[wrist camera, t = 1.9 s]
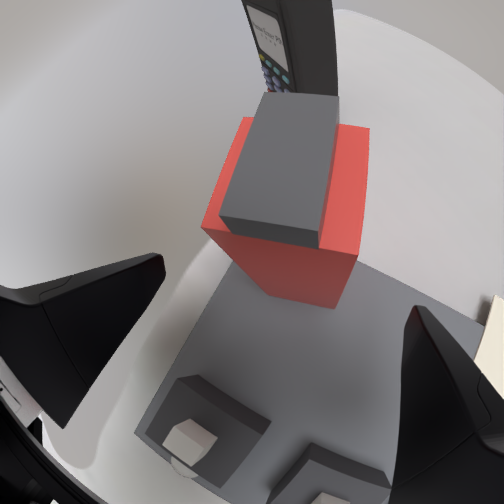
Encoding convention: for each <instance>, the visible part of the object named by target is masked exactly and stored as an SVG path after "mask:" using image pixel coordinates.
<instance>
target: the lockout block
mask: <svg viewBox="0 0 504 504" xmlns="http://www.w3.org/2000/svg"><path fill="white" fill-rule="evenodd" d="M369 130H370V128H364V127H358V126H351V125H344V124H339V97H338V96H329V95H318V94H304V93H283V92H264V95H263V97H262V99H261V102H260V104H259V107H258V109H257V112H256V114H255V117H254V118H253V117H243V119H242V122H241V124H240V126H239V129H238V131H237V133H236V136H235V138H234V141H233V143H232V146H231V148H230V150H229V153H228V155H227V158H226V161H225V163H224V166H223V168H222V171H221V173H220V176H219V179H218V181H217V184H216V186H215V189H214V192H213V194H212V197H211V200H210V202H209V206H208V208H207V211H206V214H205V216H204V219H203V222H202V225H201V228H202V229H203V230H204V231H205V232H206V233H207V234H208V235H209V236H210V237H211V238H212V239H213V240H214V241H215V242H216V243H217V244H218V245H219V246H220V247H221V248H222V249H223V250H224V251H225V252H226V253H227V254H228V255H229V256H230V257H231V258H232V259H233V261H234V262H235V263H236V264H237V265H238V266H239V267H240V268H241V269H242V270H243V271H244V272H245V273H246V274H247V275H248V276H249V277H250V278H251V279H252V280H253V281H254V282H255V283H256V284H257V285H258V286H259V287H260V288H261V289H262V290H263V291H264V292H265V293H266V294H267V295H270V296H274V297H279V298H283V299H288V300H292V301H297V302H301V303H306V304H311V305H315V306H320V307H325V308H330V309H335V308H336V306H337V304H338V302H339V299H340V297H341V295H342V293H343V290H344V288H345V286H346V284H347V281H348V279H349V277H350V274H351V272H352V270H353V267H354V265H355V262H356V260H357V258H358V255H359V248H360V241H361V234H362V226H363V218H364V209H365V199H366V188H367V175H368V158H369Z"/></svg>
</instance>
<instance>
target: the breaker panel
mask: <svg viewBox="0 0 504 504" xmlns="http://www.w3.org/2000/svg"><path fill="white" fill-rule="evenodd" d="M414 305H422V306H426V307H427V308H428V309H429V311H430V312H431V313H432V314H433V315H434V316H435V317H436V318H437V319H438V320H439V321H440V323H441V324H442V325H443V326H444V327H445V328H446V329H447V330H448V332H449V333H450V334H451V335H452V336H453V337H454V338H455V340H456V341H457V342H458V343H459V344H460V345H461V347H462V348H463V349H464V350H465V351H466V353H467V354H468V355H469V356H470V357H471V359H472V360H473V361H474V362H475V364H476V365H477V366H478V367H479V369H480V370H481V371H482V373H483V374H484V375H485V376H486V378H487V379H488V380H489V382H490V383H491V384H492V385H493V387H494V388H495V389H496V391H497V392H498V393H499V394H500V395H501V397H502V398H503V399H504V300H503V299H501V298H500V297H498V296H497V295H494V296H493V300H492V304H491V308H490V311H489V315H488V318H487V322H486V325H485V326H483V325H481V324H479V323H477V322H476V321H474V320H472V319H470V318H468V317H467V316H465V315H463V314H461V313H459V312H457V311H455V310H454V309H452V308H450V307H448V306H446V305H444V304H442V303H441V302H439V301H437V300H435V299H433V298H431V297H429V296H427V295H425V294H423V293H421V292H419V291H417V290H416V289H414V288H412V287H410V286H408V285H406V284H404V283H402V282H400V281H398V280H396V279H394V278H392V277H390V276H388V275H386V274H384V273H382V272H380V271H378V270H376V269H374V268H371V267H369V266H367V265H365V264H363V263H361V262H359V261H357V260H356V262H355V265H354V267H353V270H352V272H351V274H350V277H349V279H348V281H347V284H346V286H345V288H344V290H343V293H342V295H341V297H340V299H339V302H338V304H337V306H336V308H335V309H330V308H325V307H320V306H315V305H311V304H306V303H301V302H297V301H292V300H288V299H283V298H279V297H274V296H270V295H267V294H266V293H265V292H264V291H263V290H262V289H261V288H260V287H259V286H258V285H257V284H256V283H255V282H254V281H253V280H252V279H251V278H250V277H249V276H248V275H247V274H246V273H245V272H244V271H243V270H242V269H241V268H240V267H239V266H238V265H237V264H236V263H235V262H234V261H233V262H232V264H231V265H230V267H229V269H228V270H227V272H226V274H225V275H224V277H223V279H222V280H221V282H220V284H219V286H218V287H217V289H216V291H215V292H214V294H213V296H212V297H211V299H210V301H209V303H208V304H207V306H206V308H205V309H204V311H203V313H202V315H201V316H200V318H199V320H198V321H197V323H196V325H195V327H194V328H193V330H192V332H191V333H190V335H189V337H188V339H187V340H186V342H185V344H184V346H183V347H182V349H181V351H180V353H179V354H178V356H177V358H176V359H175V361H174V363H173V365H172V366H171V368H170V370H169V372H168V373H167V375H166V377H165V379H164V380H163V382H162V384H161V386H160V387H159V389H158V391H157V393H156V394H155V396H154V398H153V400H152V402H151V403H150V405H149V407H148V409H147V410H146V412H145V414H144V416H143V418H142V419H141V421H140V423H139V425H138V426H137V428H136V430H135V432H134V434H136V435H137V436H138V437H139V438H140V439H141V440H142V441H143V442H145V443H146V444H147V445H148V446H149V447H150V448H152V449H153V450H154V451H155V452H156V453H158V454H159V455H160V456H161V457H163V458H164V459H165V460H166V461H168V462H169V463H170V464H172V466H173V468H174V469H175V471H176V472H177V473H179V474H180V475H182V476H184V477H187V478H191V479H192V480H194V481H195V482H197V483H198V484H200V485H201V486H203V487H204V488H206V489H208V490H209V491H211V492H212V493H214V494H216V495H217V496H219V497H221V498H222V499H224V500H226V501H228V502H229V503H231V504H388V501H389V497H390V492H391V487H392V481H393V475H394V469H395V462H396V454H397V444H398V434H399V420H400V397H401V362H402V351H403V336H404V327H405V324H406V321H407V319H408V317H409V314H410V312H411V309H412V307H413V306H414Z"/></svg>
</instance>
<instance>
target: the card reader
mask: <svg viewBox="0 0 504 504" xmlns="http://www.w3.org/2000/svg"><path fill="white" fill-rule="evenodd" d="M241 1H242V3H243V6H244V9H245V12H246V15H247V18H248V21H249V24H250V27H251V31H252V34H253V37H254V40H255V44H256V47H257V50H258V54H259V58H260V60H261V64H262V71H264V78H265V79H266V85H267V86H268V92H283V93H304V94H318V95H329V96H338V75H337V54H336V39H335V27H334V17H333V8H332V0H241Z"/></svg>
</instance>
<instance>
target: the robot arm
mask: <svg viewBox="0 0 504 504" xmlns="http://www.w3.org/2000/svg"><path fill="white" fill-rule="evenodd" d="M165 276H166V271H165V265H164V259H163V256H162V255H161V254H157V253H149V254H146V255H142V256H138V257H134V258H131V259H127V260H123V261H120V262H116V263H112V264H109V265H105V266H101V267H98V268H94V269H91V270H88V271H84V272H80V273H77V274H74V275H70V276H66V277H63V278H59V279H56V280H52V281H48V282H45V283H40V284H36V285H32V286H28V287H24V288H19V289H11V288H7V287H4V286H1V285H0V504H50V503H51V502H52V501H53V499H54V500H55V501H56V502H57V503H59V504H108V503H107V502H105V501H104V500H103V499H101V498H100V497H98V496H97V495H96V494H95V493H93V492H92V491H91V490H89V489H88V488H87V487H86V486H84V485H83V484H82V483H81V482H80V481H78V480H77V479H76V478H75V477H74V476H73V475H72V474H70V473H69V472H68V471H67V470H66V469H65V468H64V467H63V466H62V465H61V464H60V463H59V462H57V461H56V460H55V459H54V458H53V457H52V456H51V455H50V454H49V453H48V452H47V451H46V449H45V448H44V447H43V445H42V421H41V420H40V419H39V418H38V417H37V416H38V415H39V414H40V413H41V412H42V411H44V412H45V413H46V414H47V415H48V416H49V417H50V418H51V419H52V420H53V421H55V423H56V424H57V425H58V426H60V427H61V428H62V429H64V428H65V426H66V425H67V423H68V421H69V420H70V418H71V417H72V415H73V414H74V412H75V411H76V409H77V407H78V406H79V404H80V403H81V401H82V400H83V398H84V397H85V395H86V394H87V392H88V391H89V388H90V387H91V386H92V384H93V383H94V382H95V380H96V379H97V377H98V376H99V374H100V373H101V371H102V370H103V368H104V367H105V365H106V364H107V363H108V361H109V360H110V358H111V357H112V355H113V354H114V353H115V351H116V350H117V348H118V347H119V345H120V344H121V343H122V341H123V340H124V339H125V337H126V336H127V334H128V333H129V332H130V330H131V329H132V328H133V326H134V325H135V323H136V322H137V321H138V319H139V318H140V317H141V315H142V314H143V313H144V311H145V310H146V309H147V307H148V305H149V304H150V302H151V301H152V299H153V297H154V296H155V294H156V292H157V291H158V289H159V287H160V286H161V284H162V283H163V281H164V279H165ZM388 504H504V399H503V398H502V397H501V395H500V394H499V393H498V392H497V391H496V389H495V388H494V387H493V385H492V384H491V383H490V382H489V380H488V379H487V378H486V376H485V375H484V374H483V373H482V371H481V370H480V369H479V367H478V366H477V365H476V364H475V362H474V361H473V360H472V359H471V357H470V356H469V355H468V354H467V353H466V351H465V350H464V349H463V348H462V347H461V345H460V344H459V343H458V342H457V341H456V340H455V338H454V337H453V336H452V335H451V334H450V333H449V332H448V330H447V329H446V328H445V327H444V326H443V325H442V324H441V323H440V321H439V320H438V319H437V318H436V317H435V316H434V315H433V314H432V313H431V312H430V311H429V309H428V308H427V307H426V306H422V305H414V306H413V307H412V309H411V312H410V314H409V317H408V319H407V321H406V324H405V327H404V336H403V351H402V362H401V397H400V420H399V434H398V444H397V454H396V462H395V469H394V475H393V481H392V487H391V492H390V497H389V501H388Z"/></svg>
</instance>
